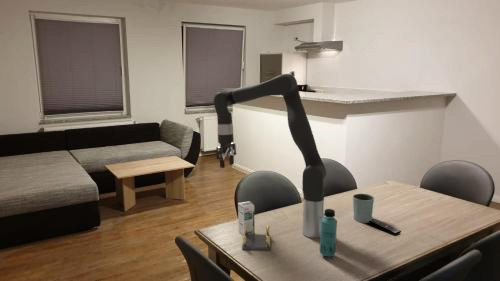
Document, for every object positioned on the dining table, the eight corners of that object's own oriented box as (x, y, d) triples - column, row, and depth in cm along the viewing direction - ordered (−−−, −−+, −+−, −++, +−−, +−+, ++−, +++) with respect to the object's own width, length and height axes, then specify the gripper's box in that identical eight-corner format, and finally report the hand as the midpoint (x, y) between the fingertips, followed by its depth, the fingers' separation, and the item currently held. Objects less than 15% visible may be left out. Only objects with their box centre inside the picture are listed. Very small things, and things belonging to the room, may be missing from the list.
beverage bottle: (317, 252, 155) (319, 207, 150) (333, 251, 155) (335, 206, 151) (321, 260, 148) (323, 213, 144) (337, 259, 149) (340, 213, 145)
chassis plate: (270, 237, 168) (270, 225, 167) (270, 250, 157) (270, 237, 155) (243, 236, 169) (243, 225, 168) (242, 249, 157) (242, 237, 156)
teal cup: (373, 224, 181) (375, 201, 179) (352, 222, 183) (353, 199, 181) (371, 216, 191) (372, 194, 189) (351, 214, 193) (352, 192, 191)
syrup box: (243, 236, 169) (243, 206, 166) (238, 231, 174) (237, 202, 171) (254, 233, 172) (254, 204, 169) (248, 229, 177) (248, 200, 174)
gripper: (224, 135, 171) (226, 169, 173) (239, 131, 184) (241, 163, 186) (210, 134, 175) (212, 168, 177) (226, 131, 187) (228, 162, 189)
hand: (227, 166), depth 181 cm, fingers open, 8 cm apart
